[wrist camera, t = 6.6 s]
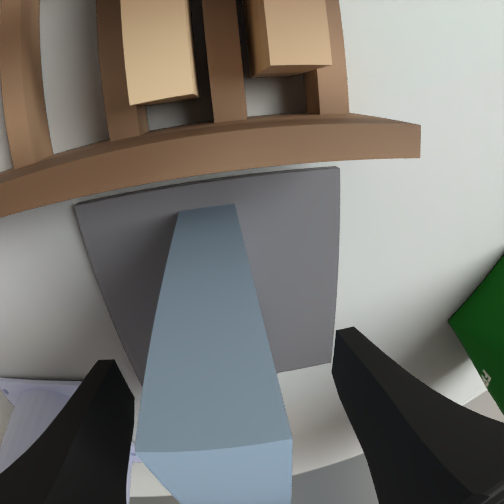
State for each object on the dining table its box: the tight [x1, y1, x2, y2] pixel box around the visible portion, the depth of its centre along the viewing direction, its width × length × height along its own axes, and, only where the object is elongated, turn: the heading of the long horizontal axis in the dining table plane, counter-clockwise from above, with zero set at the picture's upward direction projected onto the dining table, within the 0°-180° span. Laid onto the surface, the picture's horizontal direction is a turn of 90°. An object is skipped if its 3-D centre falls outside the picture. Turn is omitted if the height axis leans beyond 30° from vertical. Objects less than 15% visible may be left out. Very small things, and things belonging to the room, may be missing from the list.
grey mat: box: [74, 166, 340, 387], centre depth 13 cm, size 10×10×1 cm
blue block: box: [135, 203, 293, 504], centre depth 9 cm, size 8×2×9 cm, turn 5°
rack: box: [0, 0, 421, 217], centre depth 6 cm, size 10×16×5 cm, turn 95°
